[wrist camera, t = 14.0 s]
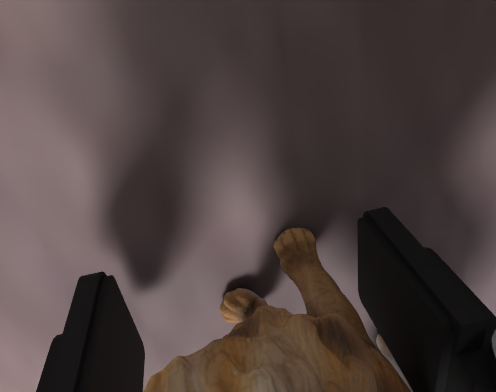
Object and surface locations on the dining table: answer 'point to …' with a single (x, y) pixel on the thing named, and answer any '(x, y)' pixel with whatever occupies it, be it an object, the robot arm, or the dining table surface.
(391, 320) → the robot arm
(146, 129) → the dining table surface
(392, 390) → the lion figurine
